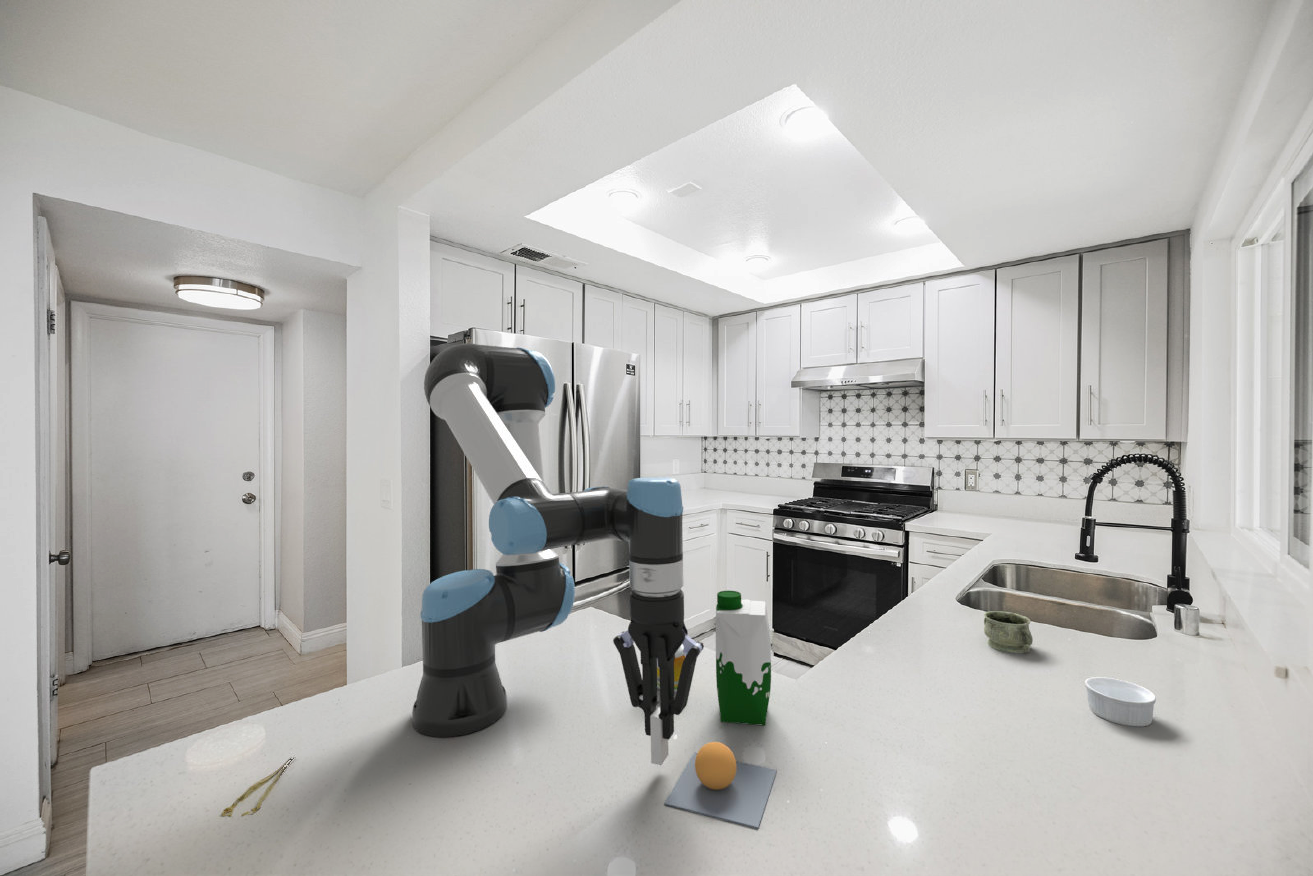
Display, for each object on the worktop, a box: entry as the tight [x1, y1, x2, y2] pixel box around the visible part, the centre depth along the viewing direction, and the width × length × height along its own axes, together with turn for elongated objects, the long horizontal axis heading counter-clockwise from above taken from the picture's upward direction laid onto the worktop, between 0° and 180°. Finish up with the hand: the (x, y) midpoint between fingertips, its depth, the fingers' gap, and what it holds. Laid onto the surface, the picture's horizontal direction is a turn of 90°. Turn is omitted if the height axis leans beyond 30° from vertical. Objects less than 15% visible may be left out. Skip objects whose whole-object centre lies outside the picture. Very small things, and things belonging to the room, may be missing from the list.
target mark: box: [664, 751, 778, 830], centre depth 73 cm, size 12×12×1 cm
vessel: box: [983, 610, 1033, 654], centre depth 119 cm, size 12×9×6 cm
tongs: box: [221, 757, 295, 818], centre depth 76 cm, size 4×13×2 cm, turn 9°
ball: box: [695, 741, 737, 790], centre depth 74 cm, size 6×6×6 cm
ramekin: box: [1084, 676, 1157, 728], centre depth 90 cm, size 9×9×4 cm
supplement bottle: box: [657, 644, 686, 693], centre depth 103 cm, size 5×5×10 cm
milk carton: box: [715, 590, 772, 726], centre depth 92 cm, size 9×9×20 cm
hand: (660, 758), depth 77 cm, fingers closed
